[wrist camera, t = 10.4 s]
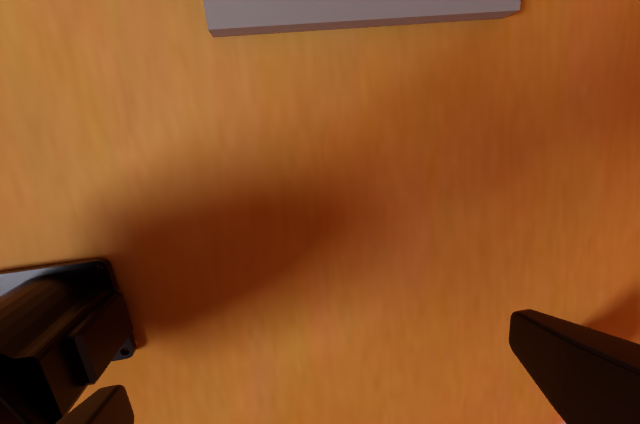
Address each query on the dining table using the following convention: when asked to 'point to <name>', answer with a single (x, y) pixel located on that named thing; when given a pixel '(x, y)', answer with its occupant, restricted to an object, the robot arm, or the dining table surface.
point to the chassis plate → (342, 14)
